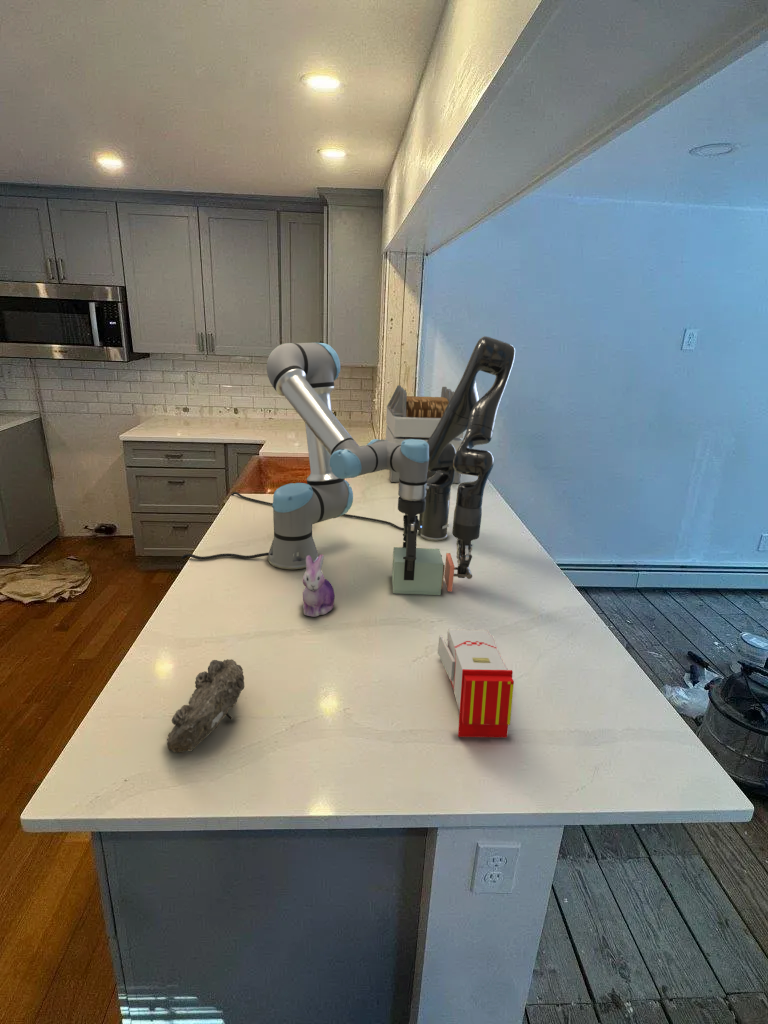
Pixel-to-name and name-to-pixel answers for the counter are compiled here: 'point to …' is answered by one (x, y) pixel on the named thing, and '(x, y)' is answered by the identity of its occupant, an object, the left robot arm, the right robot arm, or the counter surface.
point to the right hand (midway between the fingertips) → (461, 576)
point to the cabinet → (418, 572)
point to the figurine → (316, 589)
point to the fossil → (206, 705)
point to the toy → (478, 682)
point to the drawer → (452, 572)
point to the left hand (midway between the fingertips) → (407, 571)
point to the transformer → (416, 420)
